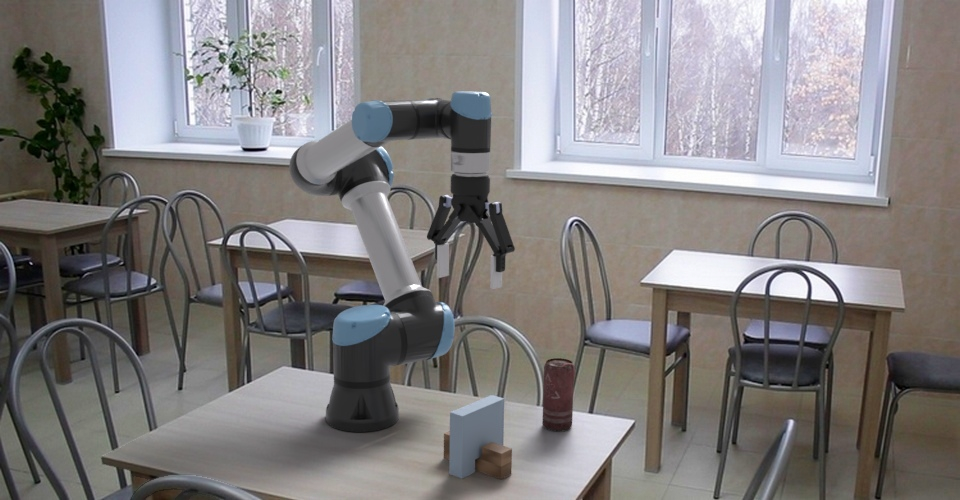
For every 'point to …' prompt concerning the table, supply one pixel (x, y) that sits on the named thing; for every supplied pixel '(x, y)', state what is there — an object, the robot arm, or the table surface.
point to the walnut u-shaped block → (488, 458)
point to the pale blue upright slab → (474, 432)
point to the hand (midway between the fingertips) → (469, 282)
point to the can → (558, 394)
